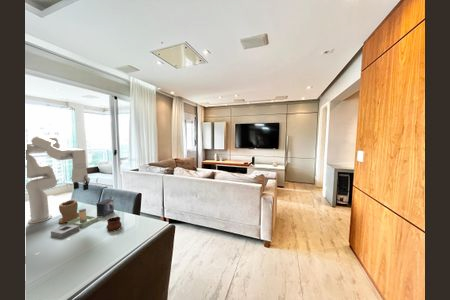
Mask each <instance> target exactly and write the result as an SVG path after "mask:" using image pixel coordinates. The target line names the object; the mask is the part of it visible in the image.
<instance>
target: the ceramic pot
mask: <svg viewBox="0 0 450 300" xmlns="http://www.w3.org/2000/svg"><path fill="white" fill-rule="evenodd" d="M121 219H122V218H121V217H120V216H115V217H114V216H113V217H109V218H108V219H106V223H107V225H106V230H107V231H108V232H115V231H114V230H116V231H118V230H117V229H119V228H120V227H121V228H122V222H121ZM121 228H120V229H121ZM120 229H119V230H120Z"/></svg>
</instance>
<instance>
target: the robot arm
mask: <svg viewBox="0 0 450 300" xmlns="http://www.w3.org/2000/svg"><path fill="white" fill-rule="evenodd" d="M26 142H27V141H26ZM45 152H46V154H47V156H48V157H50V158H53V159H54V160H57V161H66V160H72V171H71V177H70V178H71V181H72V184H73V190H77V189H80V184H79V183H82V184H83V185H82V190H83V191H86V190H89V185H90V180H91V179H90V177H89V175H88V170H87V169H88V168H87V157H86V156H87V155H86V150H85V149H84V148H64V149H63V148H62V149H61V148H60V144H59V140H58V139H57V138H56V137H55V136H51V135H49V136H47V135H45V136H44V135H39V136H34V137H33V138H32V139H31V141H28V142H27V150H26V160H27V179H30V180H29V181H28V182H27V183H26V185H25V189H26V191H27V194H28V195H27V196H28V203H29V211H30V215H29V216H30V219H28V220H27V223H28V222H29V223H28V224H39V223H42V222H46V221H47V220H50V219H52V217H53V216H52V214H50V213H49V212H50V211H49V201H48V195H47V193H46V192H45V191H46V190H49V189H53V188H55V187H57V185H58V180H57V178H56V174H55V172H54V169H53V167H51V165H50V164H47V163H45V164H44V163H43V164H39V163H38V162H37V160H36V158H35V157H34V156H32V155H31V154H41V153H45ZM31 179H32V180H31Z"/></svg>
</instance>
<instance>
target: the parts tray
mask: <svg viewBox="0 0 450 300" xmlns="http://www.w3.org/2000/svg"><path fill="white" fill-rule="evenodd" d="M86 218H87V221H86V222H84V223H80V217H78V218H75V219H73V220H71V221H68V222H66V223H67V224H66V225H68V224H71V225H77V226H79V228H84V227H86V226H88V225H91V224H92V223H94V222H97V221H99V216H97V215H89V214H86Z"/></svg>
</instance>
